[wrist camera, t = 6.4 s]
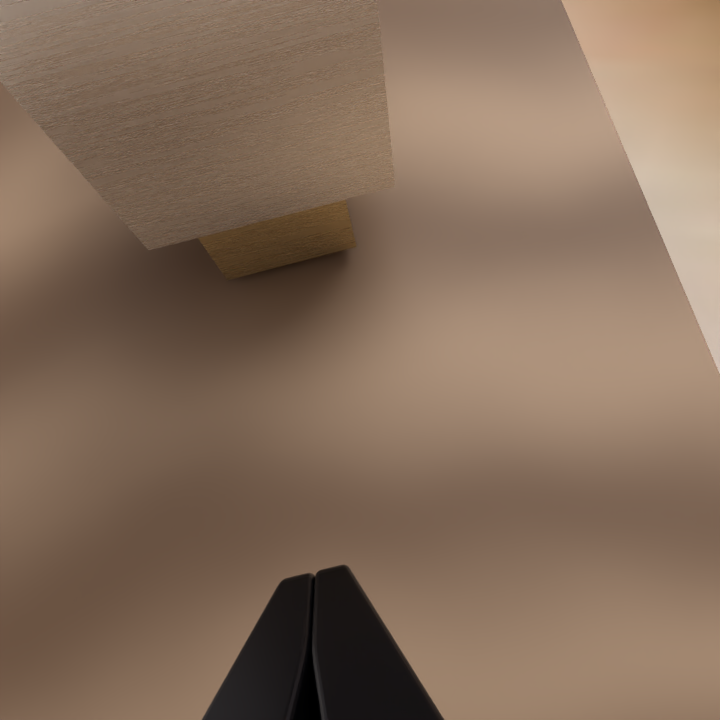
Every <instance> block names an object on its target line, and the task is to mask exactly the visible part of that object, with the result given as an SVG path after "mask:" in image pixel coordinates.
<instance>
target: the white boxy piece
mask: <svg viewBox="0 0 720 720" xmlns="http://www.w3.org/2000/svg"><path fill="white" fill-rule="evenodd" d="M0 82H1V83H2V84H3V86H4V87H5V88H6V89H7V90H8V91H9V92H10V94H11V95H12V96H13V97H14V98H15V99H16V100H17V101H18V103H19V104H20V105H21V106H22V107H23V108H24V109H25V111H26V112H27V113H28V114H29V115H30V116H31V117H32V119H33V120H34V121H35V122H36V123H37V124H38V125H39V126H40V128H41V129H42V130H43V131H44V132H45V133H46V134H47V136H48V137H49V138H50V139H51V140H52V141H53V142H54V143H55V145H56V146H57V147H58V148H59V149H60V150H61V151H62V153H63V154H64V155H65V156H66V157H67V158H68V159H69V160H70V162H71V163H72V164H73V165H74V166H75V167H76V168H77V170H78V171H79V172H80V173H81V174H82V175H83V176H84V178H85V179H86V180H87V181H88V182H89V183H90V184H91V185H92V187H93V188H94V189H95V190H96V191H97V192H98V193H99V195H100V196H101V197H102V198H103V199H104V200H105V201H106V202H107V204H108V205H109V206H110V207H111V208H112V209H113V210H114V212H115V213H116V214H117V215H118V216H119V217H120V218H121V220H122V221H123V222H124V223H125V224H126V225H127V226H128V227H129V229H130V230H131V231H132V232H133V233H134V234H135V235H136V237H137V238H138V239H139V240H140V241H141V242H142V243H143V244H144V246H145V247H146V248H147V249H148V250H153V249H157V248H161V247H164V246H168V245H172V244H176V243H180V242H184V241H188V240H192V239H195V238H198V239H199V240H200V242H201V243H202V245H203V246H204V248H205V249H206V250H207V252H208V253H209V255H210V256H211V258H212V259H213V260H214V262H215V263H216V265H217V266H218V268H219V269H220V270H221V272H222V273H223V275H224V276H225V278H226V279H227V280H230V279H234V278H238V277H242V276H246V275H250V274H253V273H257V272H261V271H265V270H269V269H273V268H277V267H281V266H285V265H289V264H292V263H296V262H300V261H304V260H308V259H312V258H316V257H320V256H324V255H328V254H331V253H335V252H339V251H343V250H347V249H351V248H355V247H357V246H356V242H355V238H354V233H353V229H352V225H351V221H350V216H349V212H348V208H347V204H346V199H350V198H354V197H358V196H362V195H366V194H369V193H373V192H377V191H381V190H385V189H389V188H393V187H395V178H394V168H393V158H392V148H391V137H390V127H389V117H388V106H387V96H386V86H385V76H384V65H383V55H382V45H381V35H380V24H379V14H378V4H377V0H0Z"/></svg>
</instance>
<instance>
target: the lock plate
mask: <svg viewBox="0 0 720 720" xmlns="http://www.w3.org/2000/svg"><path fill="white" fill-rule="evenodd" d="M377 4H378V14H379V24H380V35H381V45H382V55H383V65H384V76H385V86H386V96H387V106H388V117H389V127H390V137H391V148H392V158H393V168H394V178H395V187H393V188H389V189H385V190H381V191H377V192H373V193H369V194H366V195H362V196H358V197H354V198H350V199H346V204H347V208H348V212H349V216H350V221H351V225H352V229H353V233H354V238H355V242H356V246H357V247H355V248H351V249H347V250H343V251H339V252H335V253H331V254H328V255H324V256H320V257H316V258H312V259H308V260H304V261H300V262H296V263H292V264H289V265H285V266H281V267H277V268H273V269H269V270H265V271H261V272H257V273H253V274H250V275H246V276H242V277H238V278H234V279H230V280H227V279H226V278H225V276H224V275H223V273H222V272H221V270H220V269H219V268H218V266H217V265H216V263H215V262H214V260H213V259H212V258H211V256H210V255H209V253H208V252H207V250H206V249H205V248H204V246H203V245H202V243H201V242H200V240H199V239H198V238H195V239H192V240H188V241H184V242H180V243H176V244H172V245H168V246H164V247H161V248H157V249H153V250H148V249H147V248H146V247H145V246H144V244H143V243H142V242H141V241H140V240H139V239H138V238H137V237H136V235H135V234H134V233H133V232H132V231H131V230H130V229H129V227H128V226H127V225H126V224H125V223H124V222H123V221H122V220H121V218H120V217H119V216H118V215H117V214H116V213H115V212H114V210H113V209H112V208H111V207H110V206H109V205H108V204H107V202H106V201H105V200H104V199H103V198H102V197H101V196H100V195H99V193H98V192H97V191H96V190H95V189H94V188H93V187H92V185H91V184H90V183H89V182H88V181H87V180H86V179H85V178H84V176H83V175H82V174H81V173H80V172H79V171H78V170H77V168H76V167H75V166H74V165H73V164H72V163H71V162H70V160H69V159H68V158H67V157H66V156H65V155H64V154H63V153H62V151H61V150H60V149H59V148H58V147H57V146H56V145H55V143H54V142H53V141H52V140H51V139H50V138H49V137H48V136H47V134H46V133H45V132H44V131H43V130H42V129H41V128H40V126H39V125H38V124H37V123H36V122H35V121H34V120H33V119H32V117H31V116H30V115H29V114H28V113H27V112H26V111H25V109H24V108H23V107H22V106H21V105H20V104H19V103H18V101H17V100H16V99H15V98H14V97H13V96H12V95H11V94H10V92H9V91H8V90H7V89H6V88H5V87H4V86H3V84H2V83H1V82H0V720H202V718H203V716H204V715H205V713H206V711H207V709H208V708H209V706H210V704H211V702H212V701H213V699H214V697H215V695H216V693H217V692H218V690H219V688H220V686H221V685H222V683H223V681H224V679H225V678H226V676H227V674H228V672H229V671H230V669H231V667H232V665H233V664H234V662H235V660H236V658H237V656H238V655H239V653H240V651H241V649H242V648H243V646H244V644H245V642H246V641H247V639H248V637H249V635H250V634H251V632H252V630H253V628H254V627H255V625H256V623H257V621H258V619H259V618H260V616H261V614H262V612H263V611H264V609H265V607H266V605H267V604H268V602H269V600H270V598H271V597H272V595H273V593H274V591H275V590H276V588H277V586H278V584H279V583H280V582H281V581H282V580H283V579H285V578H289V577H293V576H297V575H301V574H305V573H312V574H314V575H315V574H316V573H317V572H318V571H319V570H322V569H326V568H330V567H334V566H338V565H343V564H344V565H347V566H348V567H349V568H350V569H351V571H352V573H353V574H354V576H355V577H356V579H357V581H358V582H359V584H360V585H361V587H362V589H363V590H364V592H365V593H366V595H367V597H368V598H369V600H370V601H371V603H372V605H373V606H374V608H375V609H376V611H377V613H378V614H379V616H380V617H381V619H382V621H383V622H384V624H385V625H386V627H387V629H388V630H389V632H390V633H391V635H392V637H393V638H394V640H395V641H396V643H397V645H398V646H399V648H400V649H401V651H402V653H403V654H404V656H405V657H406V659H407V661H408V662H409V664H410V665H411V667H412V669H413V670H414V672H415V673H416V675H417V677H418V678H419V680H420V681H421V683H422V685H423V686H424V688H425V689H426V691H427V693H428V694H429V696H430V697H431V699H432V701H433V702H434V704H435V705H436V707H437V709H438V710H439V712H440V713H441V715H442V717H443V718H444V720H720V374H719V371H718V369H717V367H716V364H715V362H714V360H713V357H712V355H711V353H710V350H709V348H708V345H707V343H706V341H705V338H704V336H703V334H702V331H701V329H700V327H699V324H698V322H697V320H696V317H695V315H694V312H693V310H692V308H691V305H690V303H689V301H688V298H687V296H686V294H685V291H684V289H683V286H682V284H681V282H680V279H679V277H678V275H677V272H676V270H675V268H674V265H673V263H672V261H671V258H670V256H669V253H668V251H667V249H666V246H665V244H664V242H663V239H662V237H661V235H660V232H659V230H658V228H657V225H656V223H655V220H654V218H653V216H652V213H651V211H650V209H649V206H648V204H647V202H646V199H645V197H644V195H643V192H642V190H641V187H640V185H639V183H638V180H637V178H636V176H635V173H634V171H633V169H632V166H631V164H630V162H629V159H628V157H627V154H626V152H625V150H624V147H623V145H622V143H621V140H620V138H619V136H618V133H617V131H616V129H615V126H614V124H613V121H612V119H611V117H610V114H609V112H608V110H607V107H606V105H605V103H604V100H603V98H602V96H601V93H600V91H599V88H598V86H597V84H596V81H595V79H594V77H593V74H592V72H591V70H590V67H589V65H588V63H587V60H586V58H585V55H584V53H583V51H582V48H581V46H580V44H579V41H578V39H577V37H576V34H575V32H574V30H573V27H572V25H571V22H570V20H569V18H568V15H567V13H566V11H565V8H564V6H563V4H562V1H561V0H377Z"/></svg>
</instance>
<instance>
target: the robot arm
mask: <svg viewBox="0 0 720 720" xmlns="http://www.w3.org/2000/svg"><path fill="white" fill-rule="evenodd" d="M202 720H444V718H443V717H442V715H441V713H440V712H439V710H438V709H437V707H436V705H435V704H434V702H433V701H432V699H431V697H430V696H429V694H428V693H427V691H426V689H425V688H424V686H423V685H422V683H421V681H420V680H419V678H418V677H417V675H416V673H415V672H414V670H413V669H412V667H411V665H410V664H409V662H408V661H407V659H406V657H405V656H404V654H403V653H402V651H401V649H400V648H399V646H398V645H397V643H396V641H395V640H394V638H393V637H392V635H391V633H390V632H389V630H388V629H387V627H386V625H385V624H384V622H383V621H382V619H381V617H380V616H379V614H378V613H377V611H376V609H375V608H374V606H373V605H372V603H371V601H370V600H369V598H368V597H367V595H366V593H365V592H364V590H363V589H362V587H361V585H360V584H359V582H358V581H357V579H356V577H355V576H354V574H353V573H352V571H351V569H350V568H349V567H348V566H347V565H344V564H343V565H338V566H334V567H330V568H326V569H322V570H319V571H318V572H317V573H316V574H315V575H314V574H312V573H305V574H301V575H297V576H293V577H289V578H285V579H283V580H282V581H281V582H280V583H279V584H278V586H277V588H276V590H275V591H274V593H273V595H272V597H271V598H270V600H269V602H268V604H267V605H266V607H265V609H264V611H263V612H262V614H261V616H260V618H259V619H258V621H257V623H256V625H255V627H254V628H253V630H252V632H251V634H250V635H249V637H248V639H247V641H246V642H245V644H244V646H243V648H242V649H241V651H240V653H239V655H238V656H237V658H236V660H235V662H234V664H233V665H232V667H231V669H230V671H229V672H228V674H227V676H226V678H225V679H224V681H223V683H222V685H221V686H220V688H219V690H218V692H217V693H216V695H215V697H214V699H213V701H212V702H211V704H210V706H209V708H208V709H207V711H206V713H205V715H204V716H203V718H202Z"/></svg>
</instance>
